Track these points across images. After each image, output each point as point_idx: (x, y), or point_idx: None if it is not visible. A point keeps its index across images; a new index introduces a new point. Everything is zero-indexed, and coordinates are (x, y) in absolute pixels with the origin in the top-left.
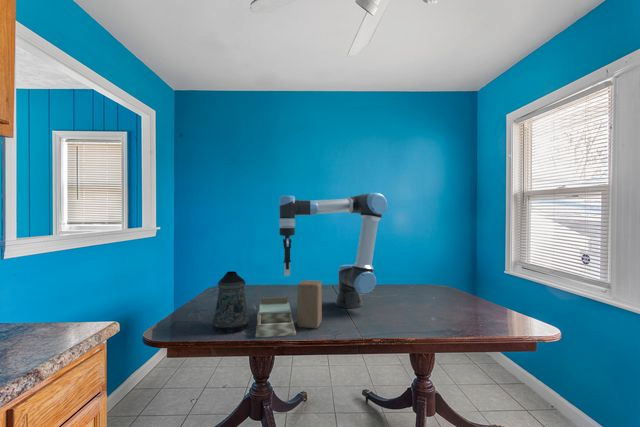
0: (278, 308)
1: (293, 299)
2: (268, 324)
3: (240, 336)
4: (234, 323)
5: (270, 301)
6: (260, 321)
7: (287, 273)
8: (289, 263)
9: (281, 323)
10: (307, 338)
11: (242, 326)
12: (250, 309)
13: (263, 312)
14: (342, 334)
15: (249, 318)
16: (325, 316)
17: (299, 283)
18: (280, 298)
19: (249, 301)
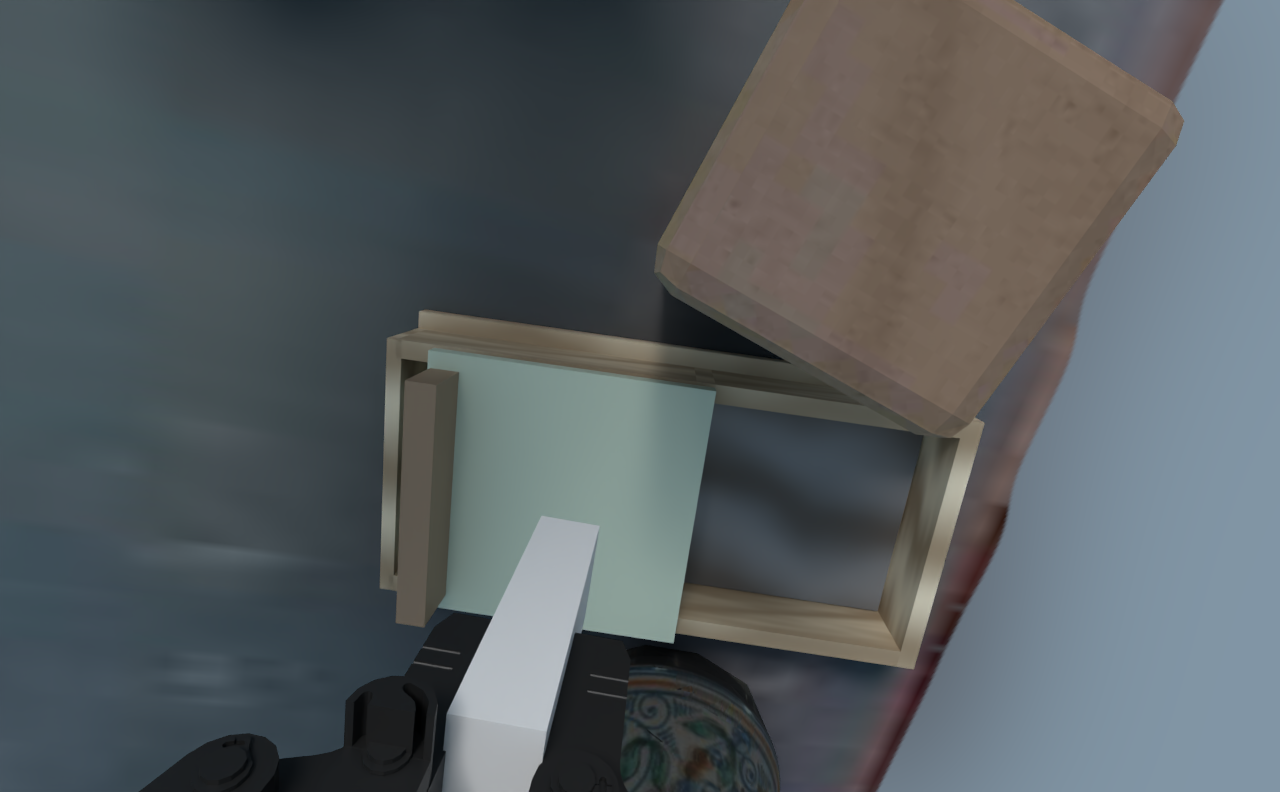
0: (609, 482)
1: (3, 183)
2: (930, 604)
3: (833, 705)
4: (776, 783)
5: (441, 534)
6: (840, 644)
7: (585, 596)
8: (547, 721)
9: (949, 514)
10: (1046, 321)
11: (755, 712)
12: (288, 593)
13: (678, 611)
14: (1095, 14)
15: (670, 679)
16: (607, 10)
17: (941, 411)
18: (436, 452)
19: (61, 575)
